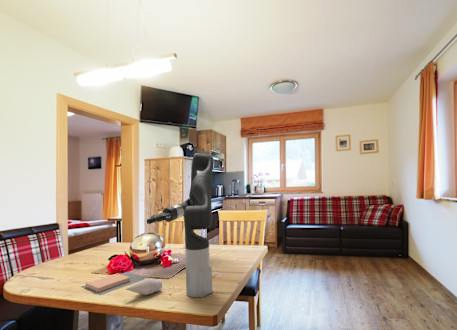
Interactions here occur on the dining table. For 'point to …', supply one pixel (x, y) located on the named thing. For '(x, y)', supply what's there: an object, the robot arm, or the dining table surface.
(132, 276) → the mat
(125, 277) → the tile
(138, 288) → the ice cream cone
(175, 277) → the dining table surface
